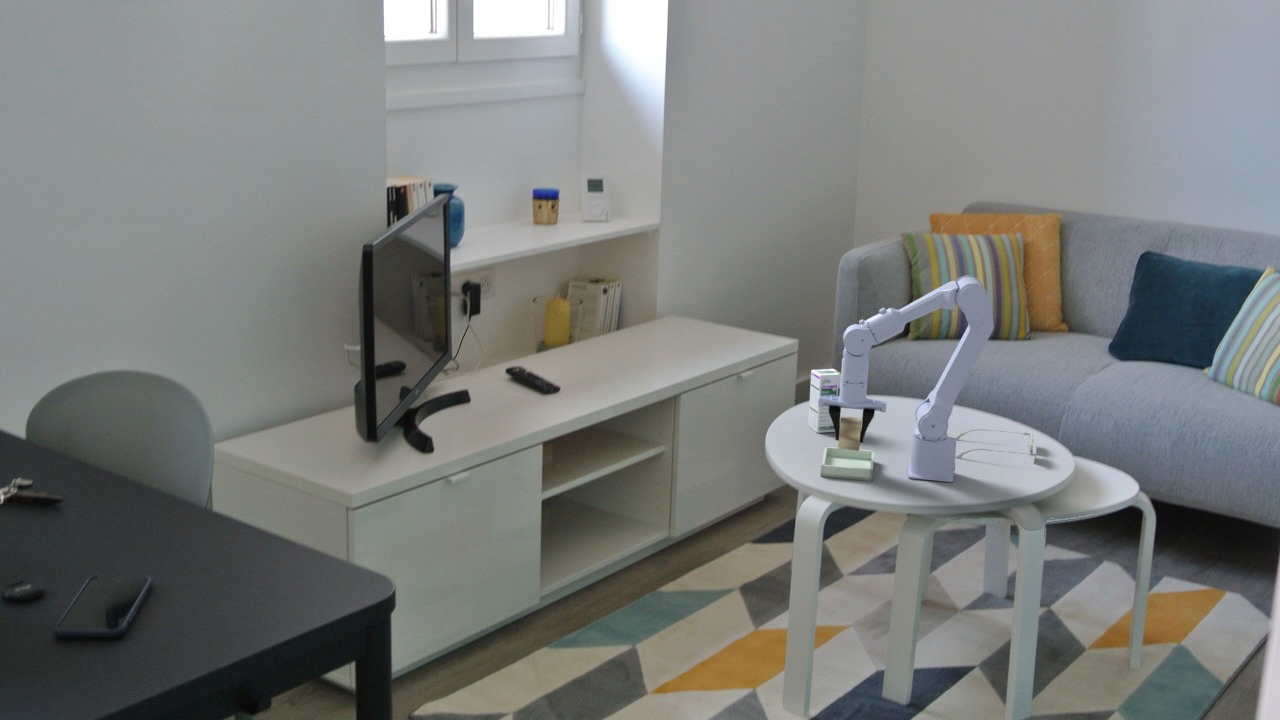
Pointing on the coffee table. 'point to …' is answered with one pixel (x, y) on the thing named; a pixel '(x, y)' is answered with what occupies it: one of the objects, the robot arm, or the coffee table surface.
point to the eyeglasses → (1030, 446)
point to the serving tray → (847, 464)
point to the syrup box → (822, 385)
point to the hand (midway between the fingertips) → (849, 440)
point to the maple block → (849, 433)
